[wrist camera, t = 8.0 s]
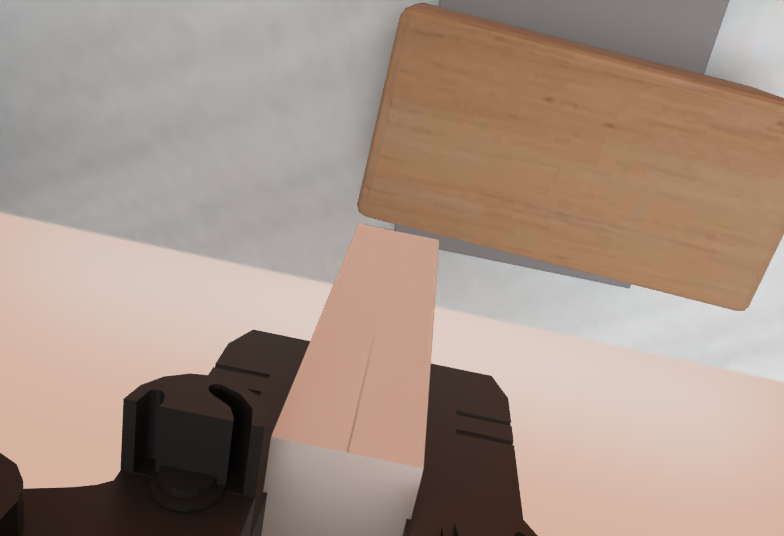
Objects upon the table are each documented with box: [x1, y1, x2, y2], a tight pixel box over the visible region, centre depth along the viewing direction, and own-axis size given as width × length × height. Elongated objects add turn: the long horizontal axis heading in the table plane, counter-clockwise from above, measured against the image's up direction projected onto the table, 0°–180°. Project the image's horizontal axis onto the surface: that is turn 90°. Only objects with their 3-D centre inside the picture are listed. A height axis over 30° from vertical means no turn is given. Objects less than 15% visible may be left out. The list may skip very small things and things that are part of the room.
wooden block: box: [357, 3, 784, 311], centre depth 37 cm, size 10×10×20 cm
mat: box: [395, 0, 729, 288], centre depth 42 cm, size 16×20×1 cm
